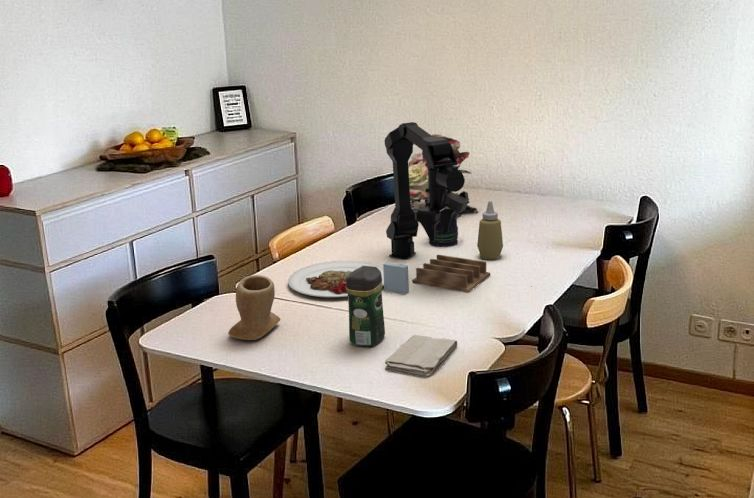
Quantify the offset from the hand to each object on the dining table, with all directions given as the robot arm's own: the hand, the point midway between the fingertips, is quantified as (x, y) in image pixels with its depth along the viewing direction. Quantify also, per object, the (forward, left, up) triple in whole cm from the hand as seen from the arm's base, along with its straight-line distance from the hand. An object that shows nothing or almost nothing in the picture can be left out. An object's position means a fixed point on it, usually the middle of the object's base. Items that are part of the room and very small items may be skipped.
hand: (439, 236), depth 243 cm
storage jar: (-15, +32, -14) cm, 38 cm away
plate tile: (-7, -13, -13) cm, 20 cm away
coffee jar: (+3, -45, -14) cm, 47 cm away
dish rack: (+3, +2, -13) cm, 14 cm away
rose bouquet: (-34, +61, -14) cm, 71 cm away
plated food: (-26, -14, -14) cm, 33 cm away
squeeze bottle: (+5, +25, -14) cm, 29 cm away
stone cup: (-25, -53, -14) cm, 60 cm away
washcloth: (+20, -48, -14) cm, 54 cm away
